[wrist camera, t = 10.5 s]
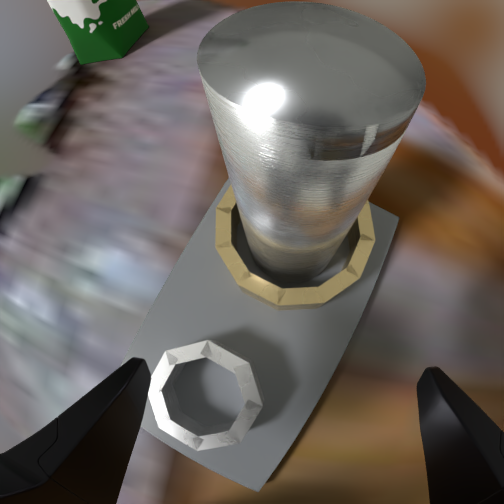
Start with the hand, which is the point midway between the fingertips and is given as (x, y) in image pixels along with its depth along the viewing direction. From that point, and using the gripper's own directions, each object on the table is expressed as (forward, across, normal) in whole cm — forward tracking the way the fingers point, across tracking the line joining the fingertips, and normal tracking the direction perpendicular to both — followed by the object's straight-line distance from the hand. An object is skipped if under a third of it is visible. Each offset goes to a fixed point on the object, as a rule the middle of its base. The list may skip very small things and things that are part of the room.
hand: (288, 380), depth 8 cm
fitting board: (+8, +2, +4) cm, 9 cm away
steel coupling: (+10, 0, 0) cm, 10 cm away
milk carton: (+30, +21, -17) cm, 40 cm away
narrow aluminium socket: (+5, +4, +7) cm, 10 cm away
